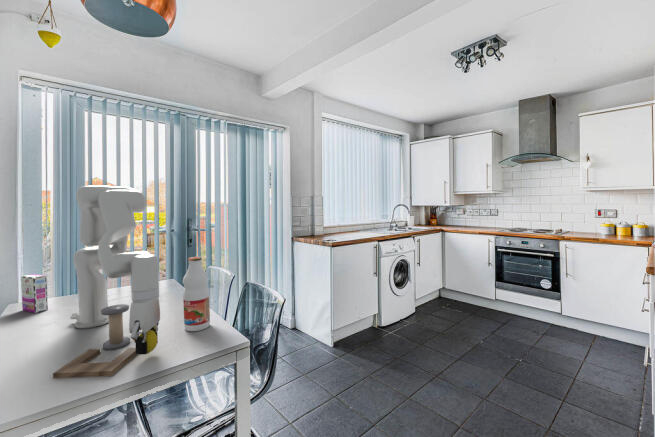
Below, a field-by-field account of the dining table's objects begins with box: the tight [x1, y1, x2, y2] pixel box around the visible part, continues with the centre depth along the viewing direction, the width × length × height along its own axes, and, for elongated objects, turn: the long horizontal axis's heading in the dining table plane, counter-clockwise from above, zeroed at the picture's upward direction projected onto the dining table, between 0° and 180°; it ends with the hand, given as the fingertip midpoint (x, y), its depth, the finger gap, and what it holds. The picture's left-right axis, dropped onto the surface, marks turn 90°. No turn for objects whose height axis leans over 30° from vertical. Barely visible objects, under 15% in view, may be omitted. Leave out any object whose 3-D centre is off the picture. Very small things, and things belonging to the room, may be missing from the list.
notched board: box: [52, 347, 137, 379], centre depth 93 cm, size 16×14×2 cm
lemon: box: [139, 330, 158, 355], centre depth 96 cm, size 6×6×8 cm
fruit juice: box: [182, 256, 211, 332], centre depth 119 cm, size 9×9×28 cm
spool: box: [101, 303, 131, 351], centre depth 105 cm, size 8×8×13 cm
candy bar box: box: [20, 273, 49, 314], centre depth 140 cm, size 11×5×16 cm, turn 68°
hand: (147, 348), depth 97 cm, fingers closed on lemon, 5 cm apart
